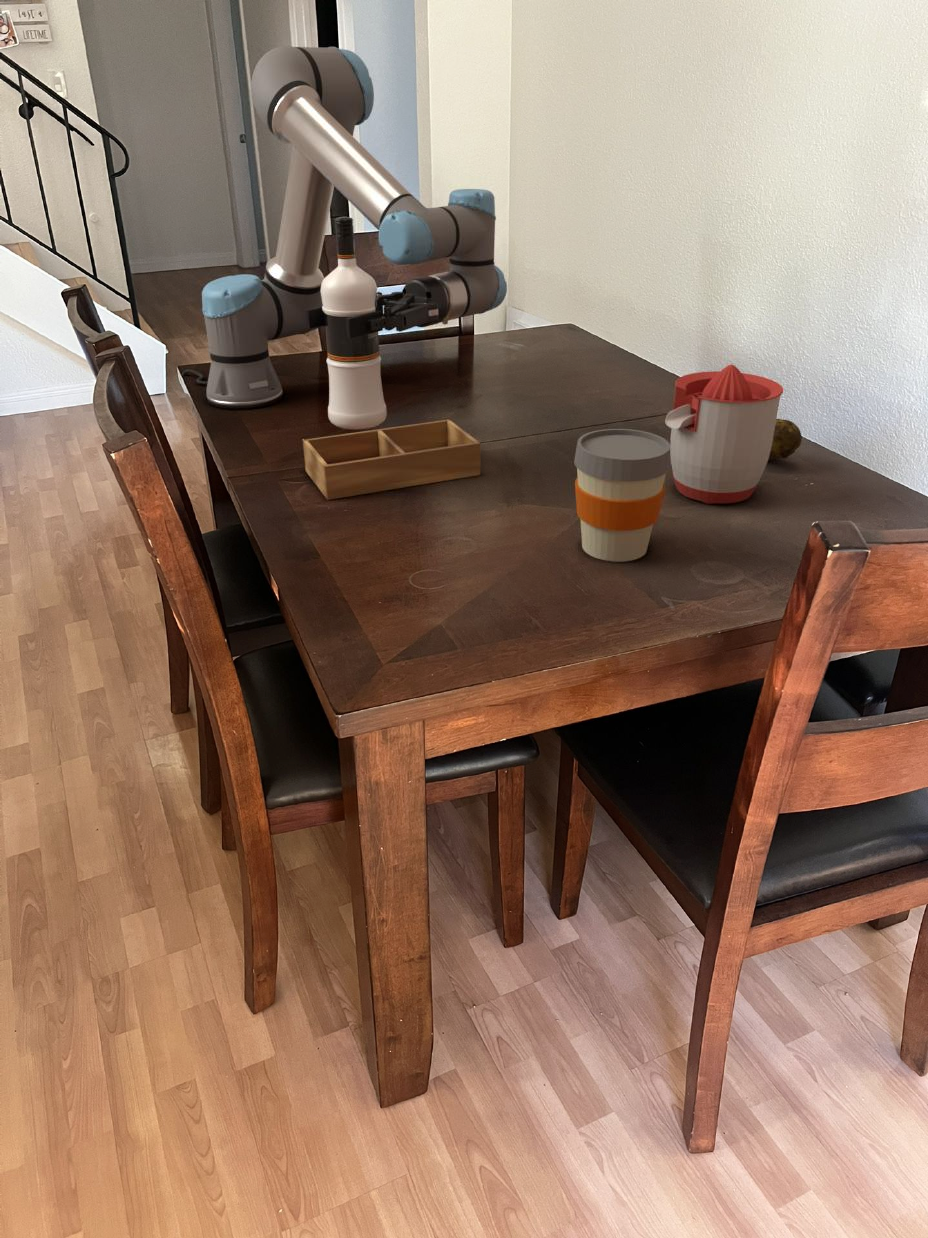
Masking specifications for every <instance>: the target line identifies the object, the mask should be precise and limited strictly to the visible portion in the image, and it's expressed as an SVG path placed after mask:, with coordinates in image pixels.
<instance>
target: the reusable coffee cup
mask: <svg viewBox="0 0 928 1238" xmlns="http://www.w3.org/2000/svg"><path fill="white" fill-rule="evenodd" d="M574 454H575V455H574V460H573V461H574V463H573V464H574V466H575V467H576V473H577V477H576V478H575V481H574V489H575V502H576V503H575V504H576V515H577V517H578V518H579V520H580V532H581V535H580V536H581V548H582V550H583V551H584V552H585V553H586V554H587V555H589V556H591V557H592V558H595V559H599V560H602V561H606V562H618V563H619V562H620V563H621V562H622V563H623V562H630V561H635V560H638V559H641V558H642V557H643V556H645V555H646V554H647V550H648V546H649V544H650V538H651V535H652V532H653V531H652V530H653V528H654V524H655V523H657V521H658V519H659V516H660V512H661V508H662V504H663V500H664V496H665V492H666V489H667V487H666V484H665V480H666V475H667V473H668V472H669V471H670V469H671V456H670V442H669V441H668V440H667V439H666V438H664V437H662V436H660V435H657V434H655V433H652V432H650V431H649V432H648V431H644V430H638V429H629V428H605V429H598V430H593V431H590V432H587V433H585V434H583V435H581V436H580V437H579V438H578V439H577V442H576V449H575V453H574Z"/></svg>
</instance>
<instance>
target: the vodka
mask: <svg viewBox="0 0 928 1238" xmlns="http://www.w3.org/2000/svg"><path fill="white" fill-rule="evenodd" d="M334 222H335V223H334V224H335V227H334V229H335V235H336V236H335V238H336V239H335V240H336V251H337V266H336V268H334V269H333V270H332V271H331V272H330V273H328V275H326V276H325V277H324V280H323V281H322V284H321V290H320V291H321V297H322V303H323V306H322V310H323V311H324V317H325V326H324V328H325V340H326V350H327V352H326V353H327V358H326V364H327V370H328V371H327V372H328V388H329V389H328V392H329V393H328V406H327V416H328V417H327V418H328V420H329V421H330V423H331V424H332V425H334V426H335V427H338V428H340V429H344V430H366V429H373V428H376V427H377V426H380V425H381V424H382V423H384V422H385V420H386V419H387V416H388V413H387V412H388V411H387V405H386V402H385V398H384V392H383V384H382V377H381V376H382V375H381V361H382V357H381V356H380V340H379V331H378V332H374V333H370V334H366V335H362V336H358V337H354V338H347V330H346V318H349V317H354V316H358V315H363V314H367V313H372V312H376V311H377V298H376V293H377V292H378V285H377V283H376V280H375V279H374V278H373V276H371V275H370V274H369V273H368V272H366V271H364V270H363V269H362V268H360V267H359V266H358V265H357V259H356V248H355V234H354V232H355V231H354V218H353V217H349V216H339V217H336V218H335V219H334Z"/></svg>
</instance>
